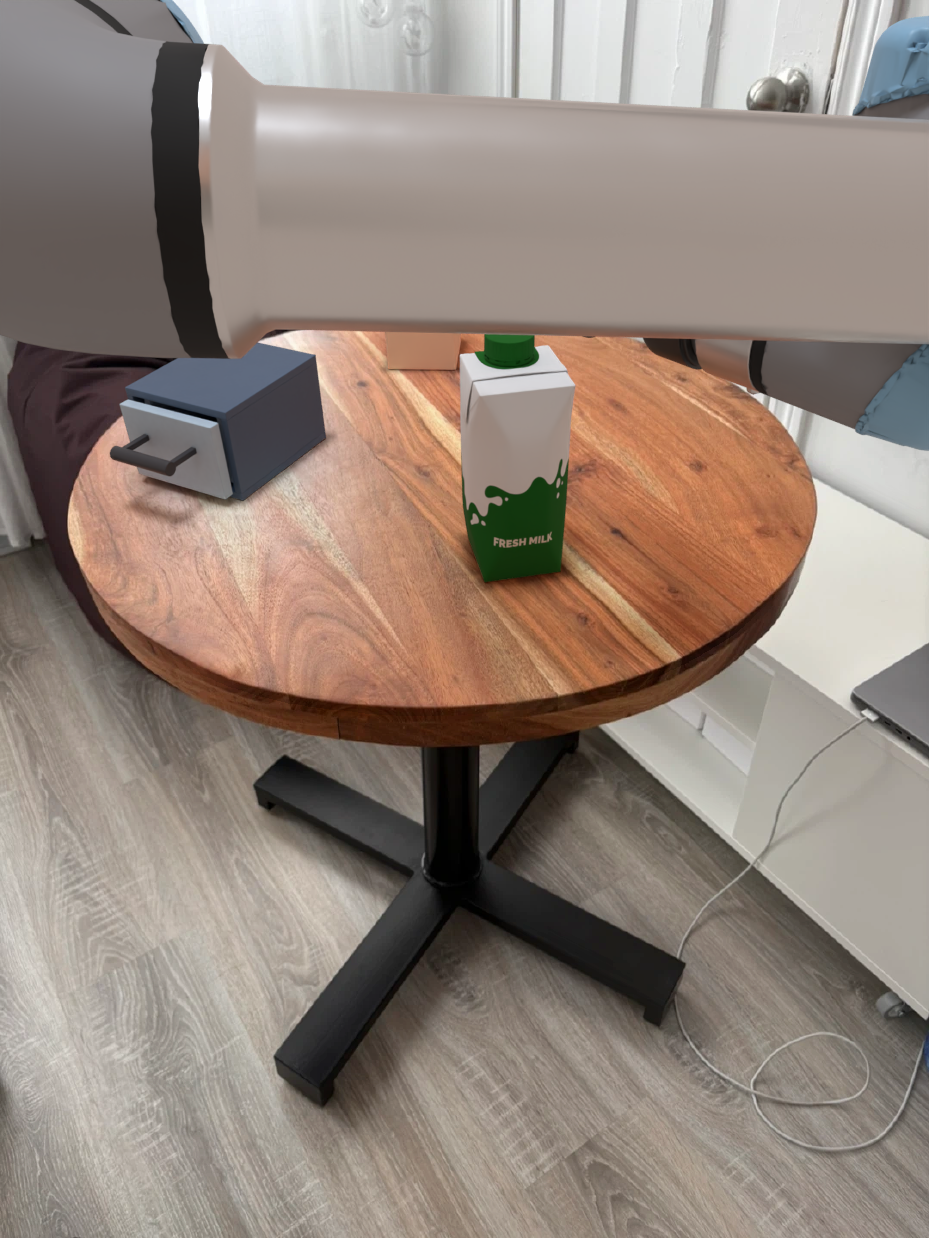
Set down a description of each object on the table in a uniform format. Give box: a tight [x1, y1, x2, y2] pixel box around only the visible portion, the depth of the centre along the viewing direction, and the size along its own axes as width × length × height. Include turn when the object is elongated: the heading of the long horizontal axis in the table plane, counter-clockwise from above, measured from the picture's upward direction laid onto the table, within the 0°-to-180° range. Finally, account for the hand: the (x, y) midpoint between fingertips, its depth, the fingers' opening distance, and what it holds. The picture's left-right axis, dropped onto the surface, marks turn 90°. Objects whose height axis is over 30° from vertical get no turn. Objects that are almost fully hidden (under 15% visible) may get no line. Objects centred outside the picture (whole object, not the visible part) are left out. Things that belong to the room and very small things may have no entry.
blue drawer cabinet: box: [124, 341, 327, 502], centre depth 96 cm, size 15×13×10 cm
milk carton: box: [459, 334, 577, 583], centre depth 77 cm, size 9×9×20 cm
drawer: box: [109, 399, 233, 500], centre depth 93 cm, size 18×11×8 cm, turn 152°
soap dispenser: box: [384, 332, 462, 371], centre depth 112 cm, size 13×9×22 cm
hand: (486, 234), depth 68 cm, fingers open, 13 cm apart
